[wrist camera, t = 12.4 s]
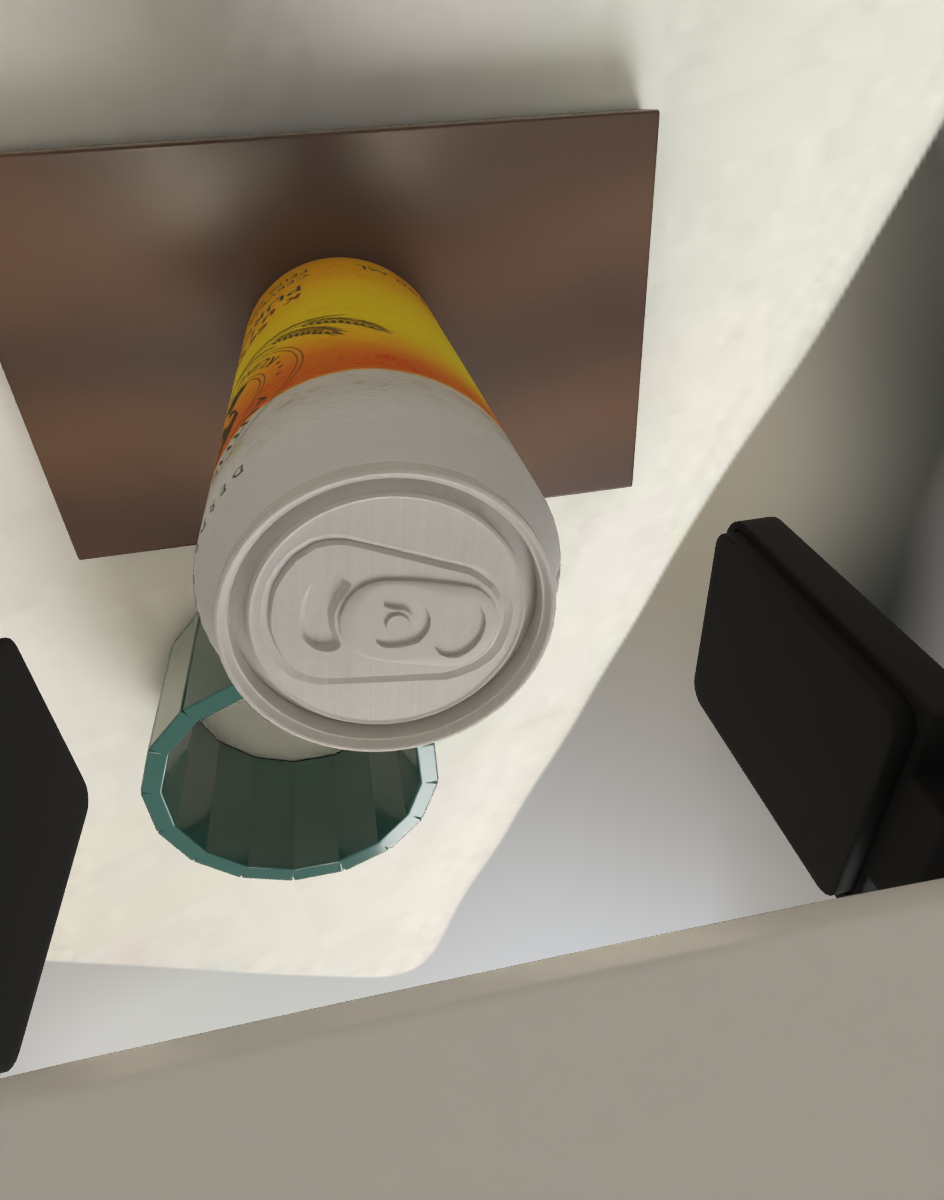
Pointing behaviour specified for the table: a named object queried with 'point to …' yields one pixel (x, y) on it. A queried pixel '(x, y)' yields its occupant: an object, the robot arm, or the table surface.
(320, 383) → the beer can
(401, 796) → the crock
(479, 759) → the table surface
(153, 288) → the board
